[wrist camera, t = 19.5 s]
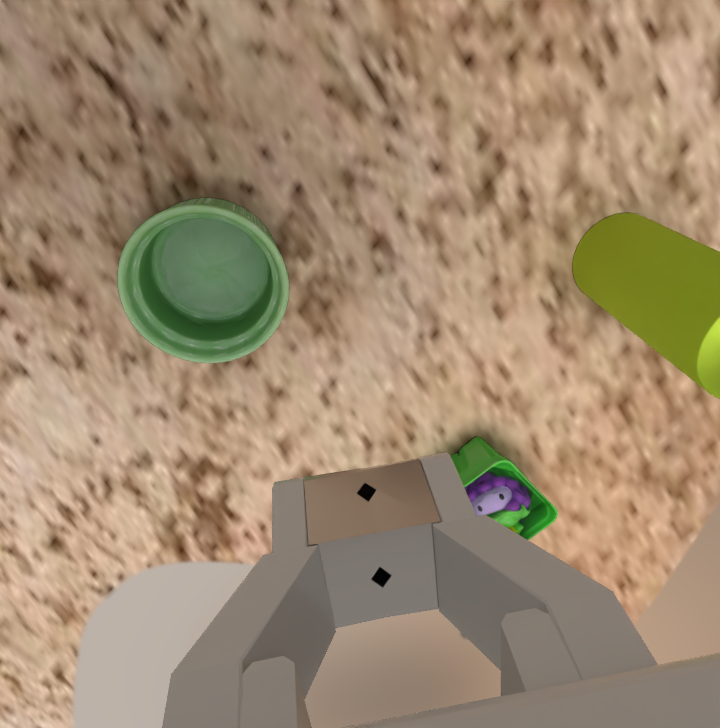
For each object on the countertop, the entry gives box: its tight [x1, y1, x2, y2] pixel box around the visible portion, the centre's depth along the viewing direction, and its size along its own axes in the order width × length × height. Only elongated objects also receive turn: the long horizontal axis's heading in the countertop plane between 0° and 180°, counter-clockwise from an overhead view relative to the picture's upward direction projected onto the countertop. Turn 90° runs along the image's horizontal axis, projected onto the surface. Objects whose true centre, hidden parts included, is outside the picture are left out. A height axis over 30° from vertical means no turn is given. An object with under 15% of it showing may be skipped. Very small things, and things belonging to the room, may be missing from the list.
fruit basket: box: [451, 437, 558, 540], centre depth 42 cm, size 11×9×11 cm
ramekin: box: [117, 198, 289, 363], centre depth 34 cm, size 9×9×4 cm
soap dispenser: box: [573, 213, 720, 399], centre depth 30 cm, size 6×7×20 cm
